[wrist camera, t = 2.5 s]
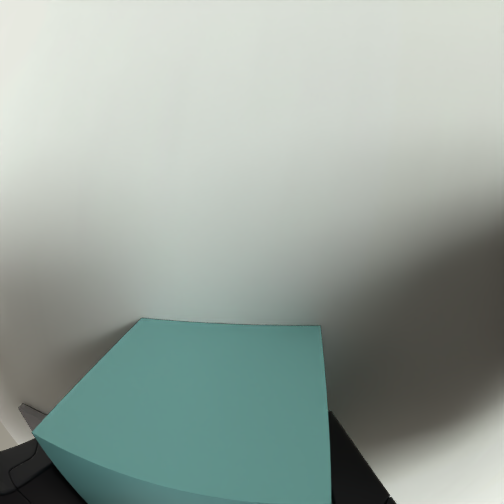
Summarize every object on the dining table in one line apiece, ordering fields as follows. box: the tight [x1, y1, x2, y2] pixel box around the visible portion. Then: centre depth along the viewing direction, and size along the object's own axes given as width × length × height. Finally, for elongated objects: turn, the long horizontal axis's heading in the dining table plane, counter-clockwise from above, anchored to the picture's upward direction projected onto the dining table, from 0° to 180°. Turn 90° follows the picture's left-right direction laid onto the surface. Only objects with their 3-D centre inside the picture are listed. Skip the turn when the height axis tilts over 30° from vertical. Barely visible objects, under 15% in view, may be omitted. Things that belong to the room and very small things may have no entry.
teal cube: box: [32, 318, 331, 504], centre depth 6 cm, size 5×5×5 cm
